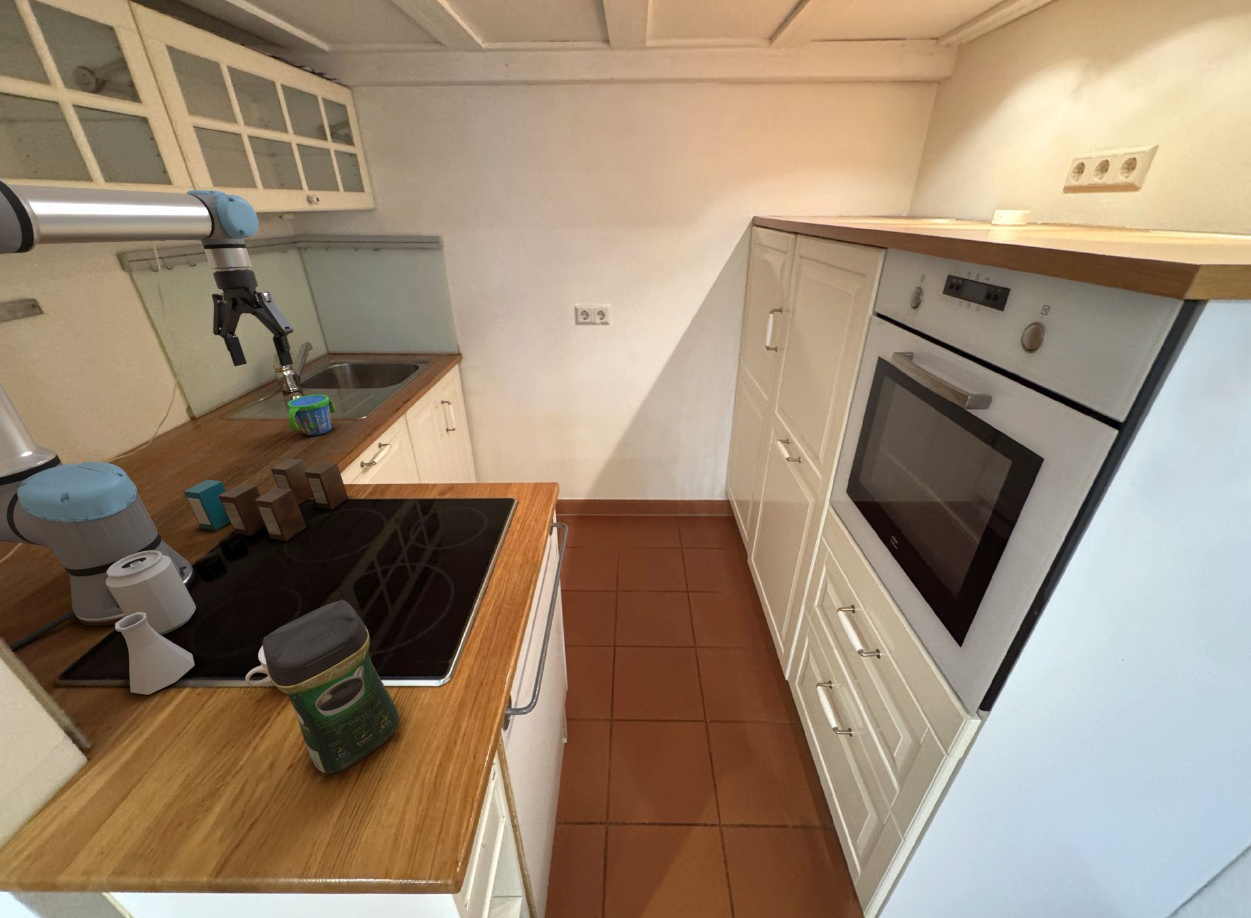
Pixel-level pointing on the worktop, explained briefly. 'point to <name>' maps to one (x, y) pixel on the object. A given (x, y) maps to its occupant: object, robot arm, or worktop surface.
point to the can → (151, 590)
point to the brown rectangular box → (293, 478)
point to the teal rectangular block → (208, 504)
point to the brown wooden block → (280, 513)
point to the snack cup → (311, 414)
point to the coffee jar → (332, 685)
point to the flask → (151, 656)
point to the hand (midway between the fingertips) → (263, 365)
